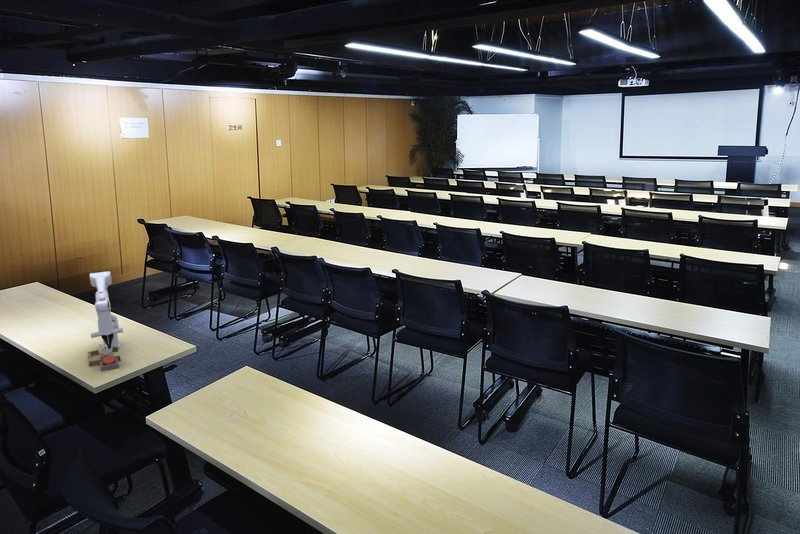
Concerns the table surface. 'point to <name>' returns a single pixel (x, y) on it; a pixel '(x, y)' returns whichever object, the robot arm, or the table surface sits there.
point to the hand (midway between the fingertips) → (109, 348)
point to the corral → (97, 362)
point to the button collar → (109, 367)
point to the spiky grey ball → (105, 351)
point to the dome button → (108, 360)
